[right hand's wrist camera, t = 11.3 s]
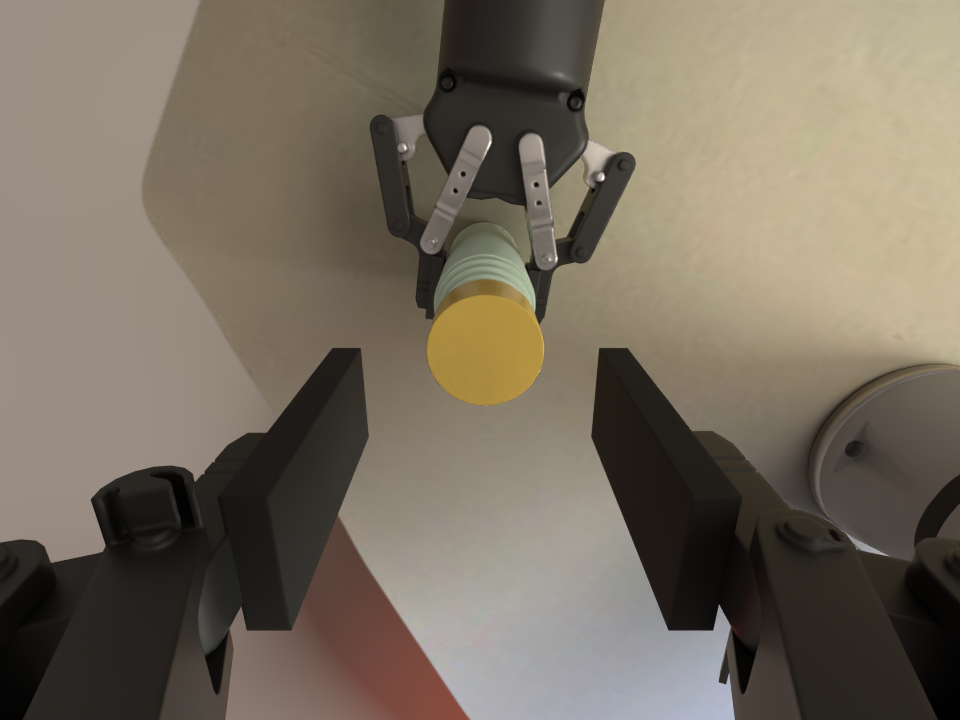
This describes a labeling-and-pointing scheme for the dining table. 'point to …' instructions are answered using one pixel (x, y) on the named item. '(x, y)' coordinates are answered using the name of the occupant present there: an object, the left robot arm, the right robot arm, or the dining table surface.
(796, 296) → the dining table surface
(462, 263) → the bottle
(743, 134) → the dining table surface
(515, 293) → the cap
